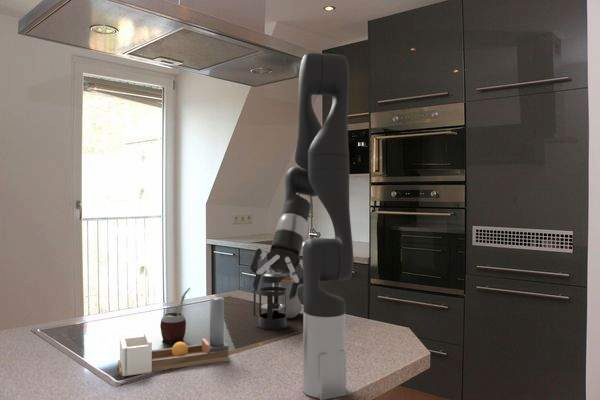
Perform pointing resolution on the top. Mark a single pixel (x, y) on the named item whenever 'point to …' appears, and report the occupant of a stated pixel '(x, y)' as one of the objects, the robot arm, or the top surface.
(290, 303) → the coffee pot
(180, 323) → the mate gourd
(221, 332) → the grey tall cylindrical piece
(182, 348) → the ball
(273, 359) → the top surface
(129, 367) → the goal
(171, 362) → the track
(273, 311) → the french press
